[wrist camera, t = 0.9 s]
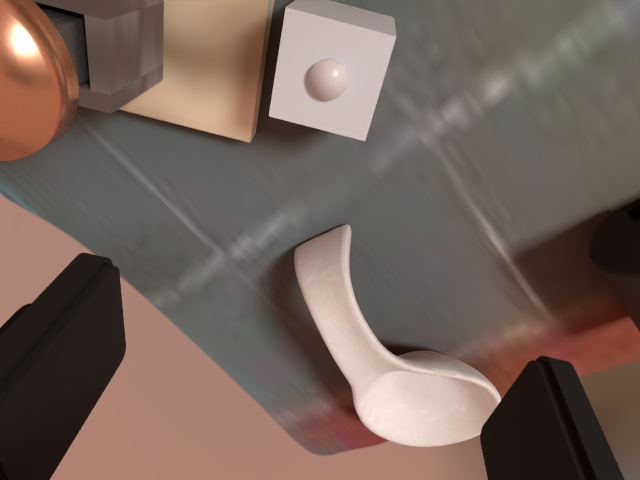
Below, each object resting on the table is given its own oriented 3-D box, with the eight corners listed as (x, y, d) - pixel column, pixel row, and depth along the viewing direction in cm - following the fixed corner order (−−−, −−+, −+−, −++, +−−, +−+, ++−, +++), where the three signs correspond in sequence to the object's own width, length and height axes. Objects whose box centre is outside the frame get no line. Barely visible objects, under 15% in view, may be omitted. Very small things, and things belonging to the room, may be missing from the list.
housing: (304, -7, 24) (284, 8, 19) (393, 17, 24) (396, 37, 19) (287, 85, 27) (267, 118, 22) (368, 106, 27) (364, 143, 22)
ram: (-4, -62, 19) (-171, -60, 13) (142, -23, 19) (40, -5, 13) (22, 86, 23) (-100, 137, 17) (144, 117, 23) (64, 178, 17)
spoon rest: (513, 395, 40) (535, 474, 34) (397, 425, 45) (400, 499, 39) (387, 197, 30) (388, 260, 25) (255, 262, 35) (230, 328, 29)
